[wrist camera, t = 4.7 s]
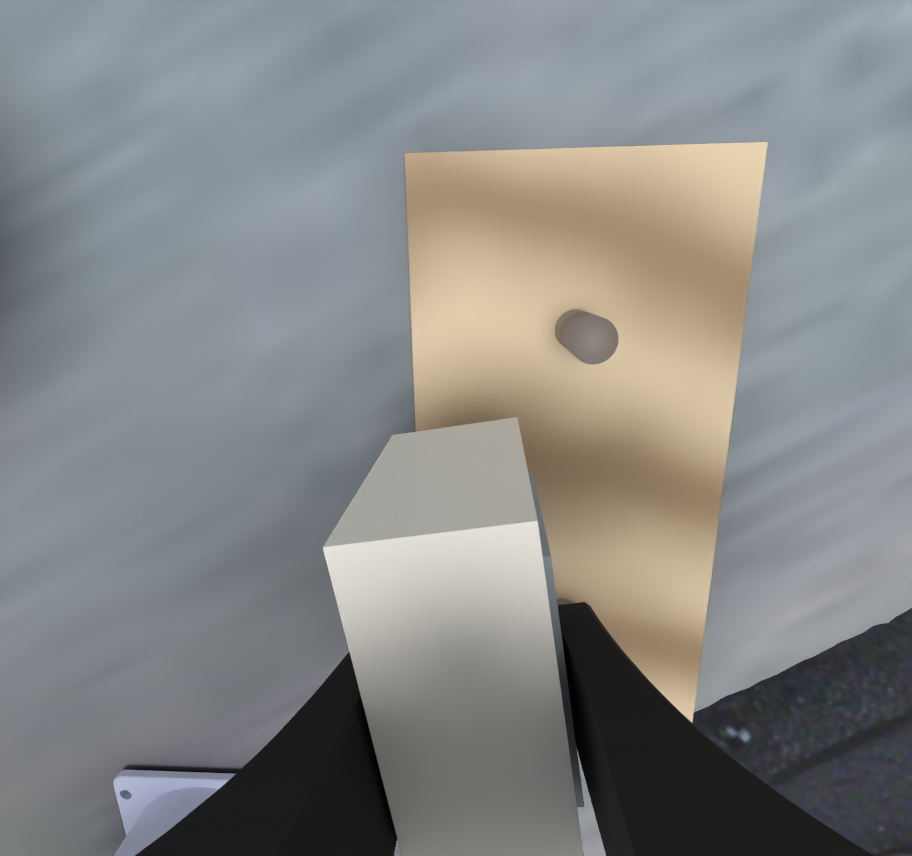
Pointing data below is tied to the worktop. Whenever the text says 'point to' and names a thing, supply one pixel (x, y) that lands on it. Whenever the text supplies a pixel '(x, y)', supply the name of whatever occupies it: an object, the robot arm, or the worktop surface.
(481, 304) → the ledge
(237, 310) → the worktop surface
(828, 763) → the dark slate chunk
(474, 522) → the white rectangular block
